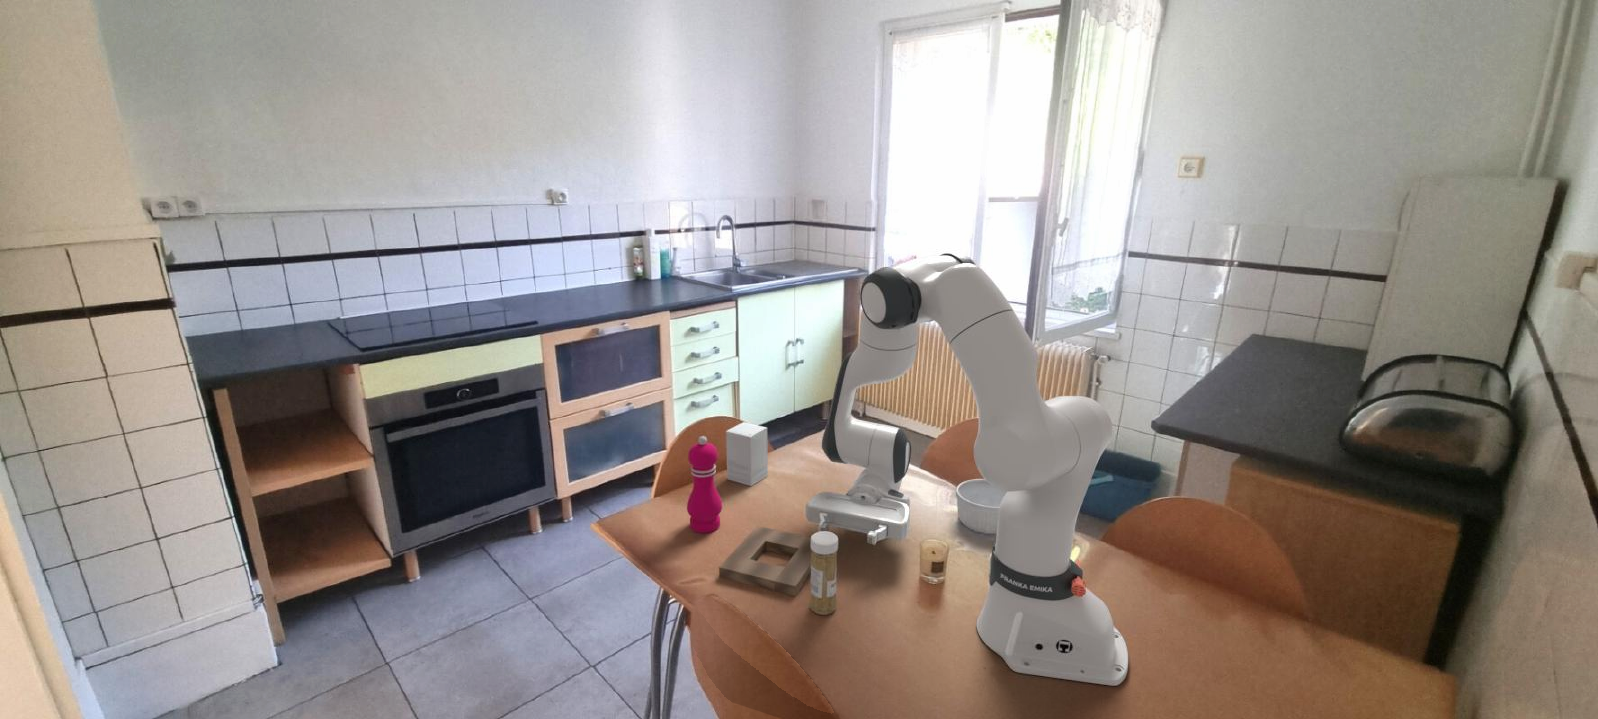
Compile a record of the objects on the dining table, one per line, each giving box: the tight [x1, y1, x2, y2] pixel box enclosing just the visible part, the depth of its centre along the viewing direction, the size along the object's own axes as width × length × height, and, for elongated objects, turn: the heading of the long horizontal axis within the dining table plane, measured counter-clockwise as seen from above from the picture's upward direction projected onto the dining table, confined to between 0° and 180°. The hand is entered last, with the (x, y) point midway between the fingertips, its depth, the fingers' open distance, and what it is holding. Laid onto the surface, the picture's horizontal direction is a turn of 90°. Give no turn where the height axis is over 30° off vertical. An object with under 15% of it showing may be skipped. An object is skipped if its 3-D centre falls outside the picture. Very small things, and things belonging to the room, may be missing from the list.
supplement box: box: [725, 421, 769, 487], centre depth 160 cm, size 7×7×13 cm
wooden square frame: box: [718, 525, 812, 597], centre depth 126 cm, size 15×16×2 cm
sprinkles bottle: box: [809, 531, 839, 616], centre depth 112 cm, size 5×5×14 cm
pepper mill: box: [686, 435, 723, 534], centre depth 137 cm, size 7×7×20 cm
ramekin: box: [955, 478, 1007, 535], centre depth 141 cm, size 13×13×7 cm
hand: (846, 535), depth 123 cm, fingers open, 8 cm apart
